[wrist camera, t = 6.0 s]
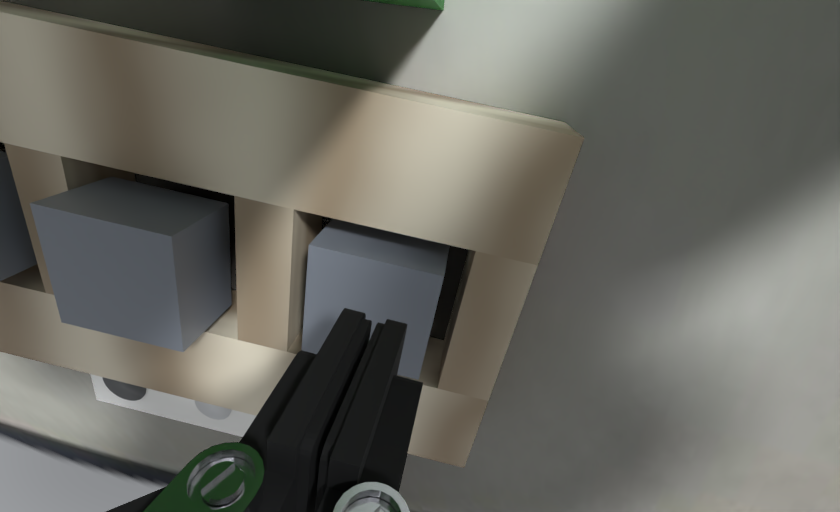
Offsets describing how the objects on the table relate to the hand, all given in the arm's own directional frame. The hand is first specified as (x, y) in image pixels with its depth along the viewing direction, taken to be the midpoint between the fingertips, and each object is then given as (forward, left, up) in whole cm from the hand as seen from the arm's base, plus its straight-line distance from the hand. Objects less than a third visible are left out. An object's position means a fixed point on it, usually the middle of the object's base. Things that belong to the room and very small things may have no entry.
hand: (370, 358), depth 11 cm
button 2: (+1, +1, -6) cm, 6 cm away
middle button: (+9, +1, -5) cm, 10 cm away
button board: (+9, +1, -7) cm, 11 cm away
